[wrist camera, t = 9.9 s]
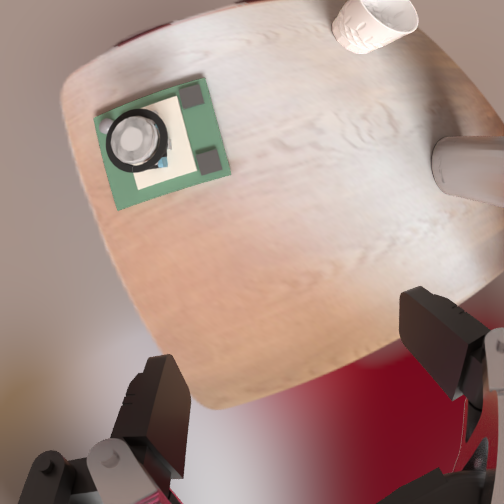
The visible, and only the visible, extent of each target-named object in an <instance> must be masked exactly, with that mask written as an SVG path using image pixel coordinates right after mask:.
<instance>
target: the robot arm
mask: <svg viewBox="0 0 504 504" xmlns="http://www.w3.org/2000/svg"><path fill="white" fill-rule="evenodd" d="M432 171H433V176H434V178H435V181H436V183H437V185H438V187H439V188H440V189H441V190H442V191H443V192H444V193H445V194H448V195H452V196H457V197H461V198H465V199H470V200H474V201H478V202H482V203H486V204H490V205H494V206H498V207H502V208H504V136H455V137H444V138H442V139H441V140H439V141H438V143H437V144H436V146H435V148H434V151H433V155H432ZM399 334H400V337H401V340H402V342H403V344H404V345H405V347H407V349H408V350H409V351H410V352H411V353H412V354H413V356H414V357H415V358H416V359H417V360H418V361H419V362H420V363H421V365H422V366H423V367H424V368H425V369H426V370H427V372H428V373H429V374H430V375H431V376H432V377H433V379H434V380H435V381H436V382H437V383H438V384H439V386H440V387H441V388H442V389H443V391H444V392H445V393H446V394H447V395H448V397H449V398H450V399H451V400H452V401H453V400H455V399H456V398H458V397H460V396H461V395H463V394H464V395H465V396H466V397H467V398H466V401H465V406H464V420H463V432H462V440H461V448H460V452H459V456H458V458H457V461H456V463H455V466H454V469H453V472H452V473H447V474H444V475H443V474H442V472H441V470H440V469H439V467H438V468H436V469H435V470H433V471H431V472H429V473H427V474H426V475H424V476H422V477H420V478H418V479H416V480H414V481H412V482H410V483H408V484H406V485H403V486H401V487H399V488H398V489H397V490H395V491H394V492H393V493H391V494H390V495H388V496H387V497H385V498H384V499H382V500H381V501H379V502H378V503H376V504H504V328H497V329H494V330H490V329H488V328H487V327H486V326H484V325H483V324H482V323H480V322H479V321H478V320H476V319H475V318H474V317H473V316H471V315H470V314H468V313H467V312H464V310H463V309H462V308H460V307H457V305H456V304H455V303H453V302H452V301H450V300H449V299H448V298H445V297H442V296H439V295H436V294H434V295H433V294H432V293H430V292H429V291H428V290H426V289H425V288H423V287H422V286H418V287H415V288H413V289H410V290H407V291H405V292H402V293H401V295H400V309H399ZM122 404H123V406H121V408H120V411H119V414H118V417H117V420H116V422H115V425H114V428H113V431H112V434H111V437H110V438H109V439H105V440H102V441H100V442H98V443H97V444H96V445H94V446H93V447H92V449H91V450H90V451H89V453H88V456H87V457H86V458H81V459H76V460H71V461H67V460H66V459H65V458H64V457H63V456H62V455H61V454H60V453H59V452H57V451H52V450H50V451H46V452H44V453H42V454H40V455H39V456H38V457H37V458H36V459H35V461H34V462H33V464H32V467H31V469H30V472H29V474H28V477H27V480H26V482H25V485H24V488H23V491H22V494H21V496H20V500H19V502H18V504H183V503H182V502H181V500H180V499H179V498H178V497H177V496H176V494H175V493H174V492H173V491H172V490H171V489H170V481H171V479H183V476H184V466H185V455H186V444H187V434H188V425H189V416H190V408H191V396H190V391H189V388H188V386H187V384H186V382H185V380H184V378H183V376H182V374H181V372H180V370H179V368H178V366H177V364H176V362H175V360H174V358H173V356H172V355H171V354H167V355H161V356H155V357H149V358H148V360H147V363H146V366H145V369H144V371H143V373H138V374H137V376H136V377H135V378H134V379H133V380H132V381H131V383H130V384H129V387H128V389H127V392H126V397H124V400H123V403H122Z"/></svg>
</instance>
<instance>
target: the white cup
mask: <svg viewBox="0 0 504 504" xmlns="http://www.w3.org/2000/svg"><path fill="white" fill-rule="evenodd" d="M417 27H418V15H417V12H416V10H415V8H414V6H413V5H412V3H411V1H410V0H347V2H346V3H345V4H344V5H343V7H342V9H341V10H340V12H339V14H338V16H337V17H336V19H335V20H334V21H333V23H332V32H333V34H334V36H335V38H336V40H337V41H338V42H339V43H340V44H341V45H342V46H343V47H344V48H345V49H347V50H350V51H352V52H354V53H358V54H367V53H369V52H371V51H374V50H375V49H377V48H381V47H383V46H385V45H387V44H389V43H391V42H393V41H395V40H397V39H399V38H401V37H403V36H405V35H407V34H409V33H412V32H413V31H415V30H416V28H417Z"/></svg>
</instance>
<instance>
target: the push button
mask: <svg viewBox="0 0 504 504" xmlns="http://www.w3.org/2000/svg"><path fill="white" fill-rule="evenodd" d="M149 119H150V120H149ZM167 149H170V150H172V144H171V140H170V139H168V132H167V128H166V125H165V123H164V122H163V120H162V119H161V118H160V117H159V116H158V112H157V111H156V110H154V111H150V110H147V109H141V108H140V109H132V110H129V111H127V112H124V113H123V114H121V115H120V116H119V117H118V118H116V120H115V121H114V122H113V123H112V125H111V126H110V128H109V130H108V133H107V136H106V152H107V155H108V157H109V159H110V161H111V162H112V164H113V165H114V166H115V167H117V168H118V169H120V170H122V171H125V172H129V173H138V172H143V171H146V170H150V169H157V168H164V167H168V161H167ZM141 162H143V164H140V165H132V164H137V163H141Z"/></svg>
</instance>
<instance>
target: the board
mask: <svg viewBox="0 0 504 504" xmlns="http://www.w3.org/2000/svg"><path fill="white" fill-rule="evenodd" d="M140 108H141V109H147V110H150V111H154V110H156V111H157V112H158V116H159V117H160V118H161V119H162V120H163V122H164V123H165V125H166V128H167V132H168V139H170V140H171V144H172V150H170V149H167V161H168V167H164V168H157V169H150V170H146V171H143V172H138V173H129V172H125V171H122V170H120V169H118V168H117V167H115V166H114V165H113V164H112V162H111V161H110V159H109V157H108V155H107V152H106V136H107V133H108V130H109V128H110V126H111V125H112V123H113V122H114V121H115V120H116V118H118V117H119V116H120V115H121V114H123V113H124V112H127V111H129V110H132V109H140ZM149 120H150V119H149ZM94 123H95V128H96V133H97V137H98V141H99V146H100V150H101V154H102V158H103V162H104V166H105V169H106V173H107V177H108V180H109V184H110V187H111V191H112V194H113V198H114V201H115V204H116V207H117V211H119V210H122V209H125V208H127V207H130V206H133V205H136V204H139V203H142V202H144V201H147V200H150V199H153V198H156V197H159V196H162V195H165V194H168V193H171V192H175V191H178V190H181V189H184V188H187V187H190V186H194V185H197V184H200V183H204V182H207V181H211V180H214V179H218V178H221V177H225V176H228V175H231V171H230V168H229V164H228V160H227V157H226V153H225V149H224V146H223V142H222V138H221V135H220V131H219V127H218V124H217V120H216V116H215V113H214V109H213V105H212V102H211V98H210V94H209V91H208V87H207V83H206V80H205V78H201V79H198V80H194V81H191V82H187V83H184V84H181V85H177V86H174V87H171V88H168V89H165V90H162V91H159V92H156V93H153V94H151V95H148V96H145V97H142V98H140V99H137V100H134V101H132V102H129V103H127V104H124V105H122V106H120V107H117V108H115V109H113V110H110V111H108V112H106V113H104V114H101V115H99V116H97V117H95V118H94ZM140 164H143V162H141V163H137V164H132V165H140Z"/></svg>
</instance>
